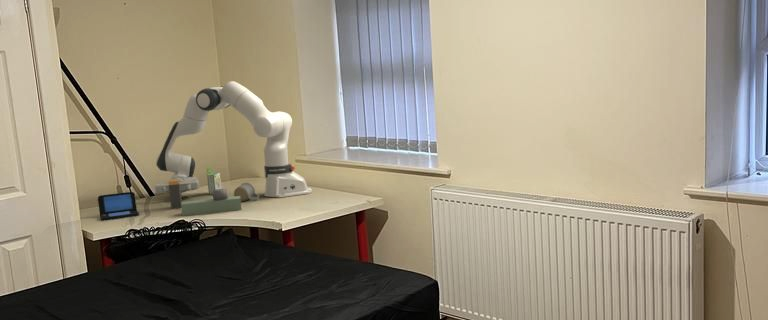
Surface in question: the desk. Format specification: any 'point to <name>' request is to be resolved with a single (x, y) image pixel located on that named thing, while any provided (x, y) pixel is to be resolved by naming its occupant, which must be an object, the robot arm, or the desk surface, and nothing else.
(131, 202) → the handheld game console
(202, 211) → the green platform block
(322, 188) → the desk surface
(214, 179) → the ink box
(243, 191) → the ceramic mug
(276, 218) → the desk surface
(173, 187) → the dark grey tall block
